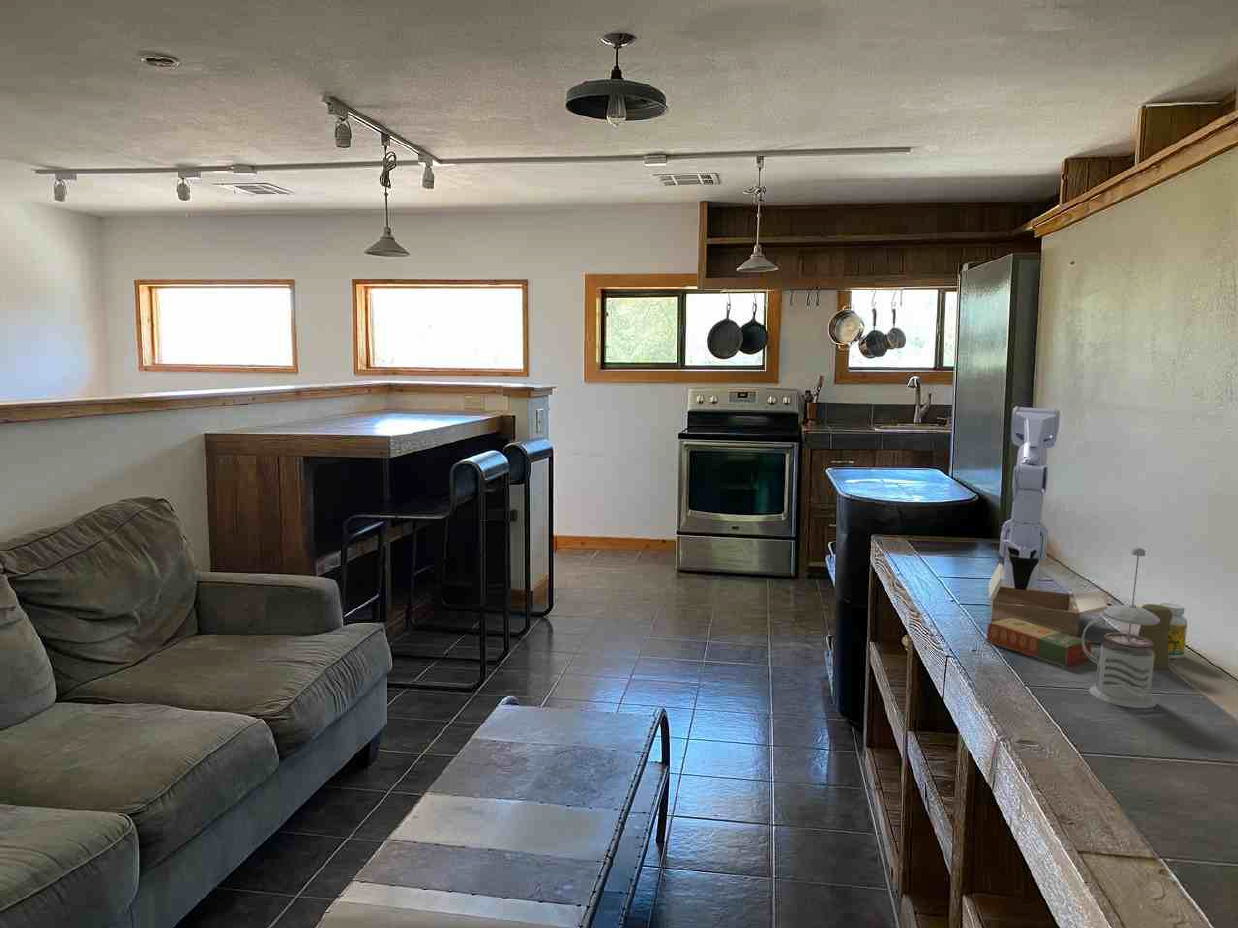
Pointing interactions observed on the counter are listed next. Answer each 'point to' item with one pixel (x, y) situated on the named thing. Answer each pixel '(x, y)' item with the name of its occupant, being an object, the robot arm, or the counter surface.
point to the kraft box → (1037, 608)
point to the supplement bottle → (1176, 631)
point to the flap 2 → (1090, 602)
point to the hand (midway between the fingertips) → (1019, 585)
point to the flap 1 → (996, 582)
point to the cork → (1158, 635)
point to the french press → (1125, 657)
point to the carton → (1038, 641)
